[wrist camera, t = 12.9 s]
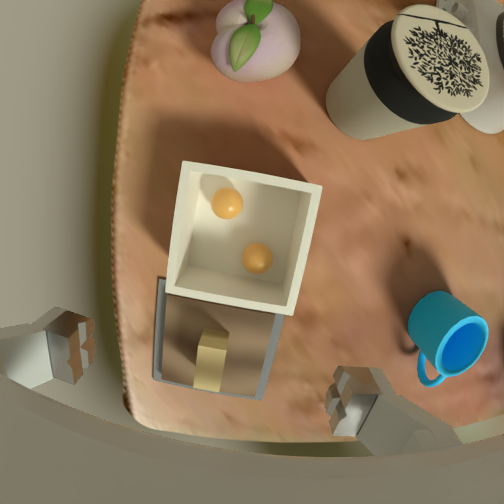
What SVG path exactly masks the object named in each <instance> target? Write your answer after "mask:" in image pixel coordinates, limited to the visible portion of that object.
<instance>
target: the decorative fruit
mask: <svg viewBox="0 0 504 504" xmlns="http://www.w3.org/2000/svg"><path fill="white" fill-rule="evenodd" d="M216 30H217V33H218V35H217V36H216V37H215V39H214V41H213V43H212V46H211V58H212V61H213V63H214V65H215V67H216V68H217V69H218V70H219V71H220V73H222V74H223V75H224V76H226V77H227V78H229V79H231V80H234V81H237V82H242V83H253V82H260V81H265V80H268V79H271V78H274V77H276V76H278V75H280V74H282V73H284V72H285V71H287V70H288V69H289V68H290V67H291V66H292V65H293V63H294V62H295V60H296V58H297V57H298V55H299V52H300V46H301V32H300V28H299V25H298V23H297V21H296V19H295V17H294V16H293V15H292V13H291V12H290V11H289V10H288V9H286V8H285V7H283V6H282V5H280V4H277V3H275V2H273V0H233V1H231V2H229V3H228V4H227V5H225V6H224V7H223V8H222V9H221V11H220V12H219V14H218V16H217V18H216Z"/></svg>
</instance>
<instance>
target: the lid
mask: <svg viewBox="0 0 504 504" xmlns="http://www.w3.org/2000/svg"><path fill="white" fill-rule="evenodd" d="M274 319H275V313H273V312H266V311H261V310H255V309H249V308H243V307H238V306H232V305H227V304H221V303H216V302H211V301H205V300H200V299H195V298H190V297H185V296H180V295H176V294H171V293H168V294H167V302H166V313H165V326H164V340H163V357H162V377H161V379H162V380H166V381H170V382H175V383H179V384H184V385H188V386H193V388H197V389H202V390H208V391H213V392H218V393H219V392H225V393H231V394H237V395H243V396H250V397H255V394H256V391H257V387H258V383H259V379H260V375H261V371H262V368H263V364H264V360H265V356H266V352H267V348H268V344H269V340H270V336H271V332H272V327H273V323H274Z"/></svg>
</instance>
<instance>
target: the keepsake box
mask: <svg viewBox="0 0 504 504" xmlns="http://www.w3.org/2000/svg"><path fill="white" fill-rule="evenodd" d="M225 187H229V188H233V189H235V190H237V191H238V192H239V193H240V195H241V196H242V199H243V207H242V210H241V212H240V213H239V214H238V215H237V216H236V217H234V218H232V219H222V218H219V217H218V216H216V215H215V214H214V212H213V211H212V208H211V199H212V196H213V195H214V193H215V192H216V191H217V190H219V189H221V188H225ZM322 187H323V186H320V185H315V184H311V183H306V182H301V181H297V180H292V179H287V178H282V177H277V176H272V175H267V174H261V173H256V172H250V171H245V170H239V169H233V168H228V167H221V166H215V165H209V164H202V163H196V162H189V161H182V167H181V173H180V179H179V186H178V192H177V198H176V205H175V212H174V219H173V227H172V235H171V243H170V251H169V260H168V269H167V278H166V289H165V292H166V293H171V294H176V295H180V296H185V297H190V298H195V299H200V300H205V301H211V302H216V303H221V304H227V305H232V306H238V307H243V308H249V309H255V310H261V311H266V312H273V313H279V314H285V315H291V316H293V313H294V309H295V305H296V301H297V297H298V293H299V289H300V285H301V281H302V277H303V273H304V268H305V264H306V260H307V256H308V251H309V247H310V243H311V238H312V234H313V229H314V225H315V220H316V216H317V211H318V206H319V201H320V197H321V192H322ZM253 243H262V244H264V245H266V246H267V247H268V248H269V249H270V250H271V252H272V255H273V262H272V265H271V267H270V268H269V269H268V270H267V271H266V272H264V273H262V274H253V273H250V272H249V271H247V270H246V269H245V268H244V266H243V264H242V253H243V251H244V249H245V248H246V247H247V246H249V245H250V244H253Z"/></svg>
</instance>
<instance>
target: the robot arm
mask: <svg viewBox="0 0 504 504" xmlns="http://www.w3.org/2000/svg"><path fill="white" fill-rule="evenodd" d="M436 7H438V8H440V9H442V10H444V11H446V12H448V13H450V14H451V15H453V16H454V17H456V18H457V19H458V20H459V21H461V22H462V23H463V24H464V25H465V26H466V27H467V28H468V29H469V30H470V32H471V33H472V34H473V36H474V37H475V38H476V40H477V41H478V43H479V45H480V47H481V48H482V51H483V53H484V55H485V58H486V61H487V64H488V69H489V78H490V80H489V89H488V93H487V96H486V98H485V100H484V101H483V103H482V104H481V105H480V106H479V107H478V108H476V109H475V110H473V111H470V112H466V113H460V115H461V116H462V117H463V118H464V119H465V120H466V121H467V122H468V123H469V124H470V125H472V126H473V127H474V128H476V129H477V130H479V131H482V132H484V133H488V134H495V133H499V132H501V131H503V130H504V6H503V5H502V4H501V3H499V2H498V1H496V0H437V2H436ZM94 331H95V326H94V321H93V319H92V318H90V317H86V316H83V315H80V314H77V313H74V312H71V311H68V310H66V309H62V308H59V307H53V308H52V309H51V310H50V311H48V312H47V313H46V314H44V315H43V316H41V317H40V318H39V319H38V320H36V321H35V322H33V323H32V324H31V325H30V324H21V325H16V326H10V327H5V328H0V504H504V434H503V435H499V436H495V437H492V438H488V439H484V440H480V441H476V442H471V443H467V444H462V442H461V441H460V439H459V438H458V436H457V435H456V433H455V432H454V430H453V428H452V427H451V425H449V424H447V423H445V422H444V421H442V420H440V419H439V418H437V417H435V416H434V415H432V414H430V413H429V412H427V411H426V410H424V409H422V408H421V407H419V406H417V405H416V404H414V403H412V402H411V401H409V400H408V399H406V398H404V397H403V396H401V395H396V393H395V391H394V390H393V388H392V386H391V385H390V383H389V381H388V379H387V378H386V376H385V374H384V373H383V371H382V369H380V368H373V367H349V366H338V367H337V369H336V370H335V373H334V375H333V377H334V380H335V382H334V383H333V384H332V385H330V386H329V388H328V391H327V393H326V399H325V408H326V412H327V413H328V414H329V415H330V416H331V418H330V420H329V424H330V427H331V431H332V435H336V436H357V438H358V439H359V440H360V441H361V442H362V443H363V444H364V445H365V446H366V447H367V448H368V449H369V450H370V451H371V452H372V453H373V454H374V455H375V456H369V457H338V458H337V457H336V458H335V457H334V458H333V457H297V456H282V455H281V456H280V455H269V454H259V453H250V452H242V451H235V450H228V449H222V448H215V447H209V446H204V445H198V444H194V443H188V442H184V441H179V440H175V439H171V438H166V437H162V436H158V435H154V434H151V433H146V432H143V431H139V430H136V429H133V428H129V427H126V426H123V425H120V424H117V423H113V422H110V421H107V420H105V419H101V418H98V417H96V416H93V415H90V414H88V413H85V412H82V411H80V410H77V409H75V408H72V407H70V406H67V405H65V404H62V403H60V402H58V401H55V400H53V399H51V398H49V397H46V396H44V395H42V394H40V393H37V392H35V391H33V390H31V388H33V387H35V386H38V385H40V384H42V383H44V382H47V381H49V380H51V379H53V377H54V378H56V379H59V380H62V381H65V382H67V383H70V384H73V385H75V384H76V382H77V381H78V380H79V379H80V377H81V376H82V375H83V368H86V367H89V366H90V364H91V363H92V362H93V359H94V356H95V350H96V342H95V340H94V338H93V337H92V333H93V332H94Z"/></svg>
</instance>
